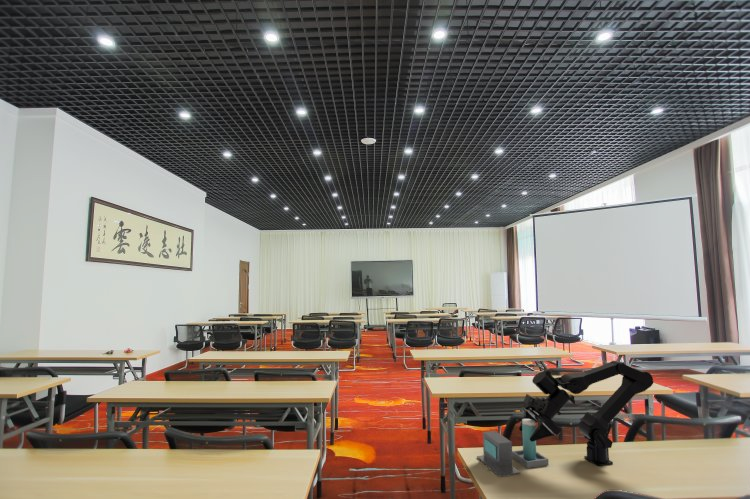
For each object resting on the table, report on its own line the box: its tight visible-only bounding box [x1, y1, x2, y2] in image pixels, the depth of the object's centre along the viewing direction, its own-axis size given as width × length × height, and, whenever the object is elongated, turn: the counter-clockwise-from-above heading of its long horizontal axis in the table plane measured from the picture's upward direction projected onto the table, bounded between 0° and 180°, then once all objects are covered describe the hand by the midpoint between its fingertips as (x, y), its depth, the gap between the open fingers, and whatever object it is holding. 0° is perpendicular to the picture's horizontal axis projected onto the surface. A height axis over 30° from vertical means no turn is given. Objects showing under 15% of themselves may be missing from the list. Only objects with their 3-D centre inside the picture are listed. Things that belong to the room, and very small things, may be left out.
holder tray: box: [512, 449, 550, 469], centre depth 131 cm, size 9×9×2 cm
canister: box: [521, 418, 537, 461], centre depth 132 cm, size 4×4×13 cm
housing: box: [476, 430, 521, 478], centre depth 129 cm, size 8×14×10 cm, turn 15°
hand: (524, 435), depth 132 cm, fingers open, 9 cm apart
